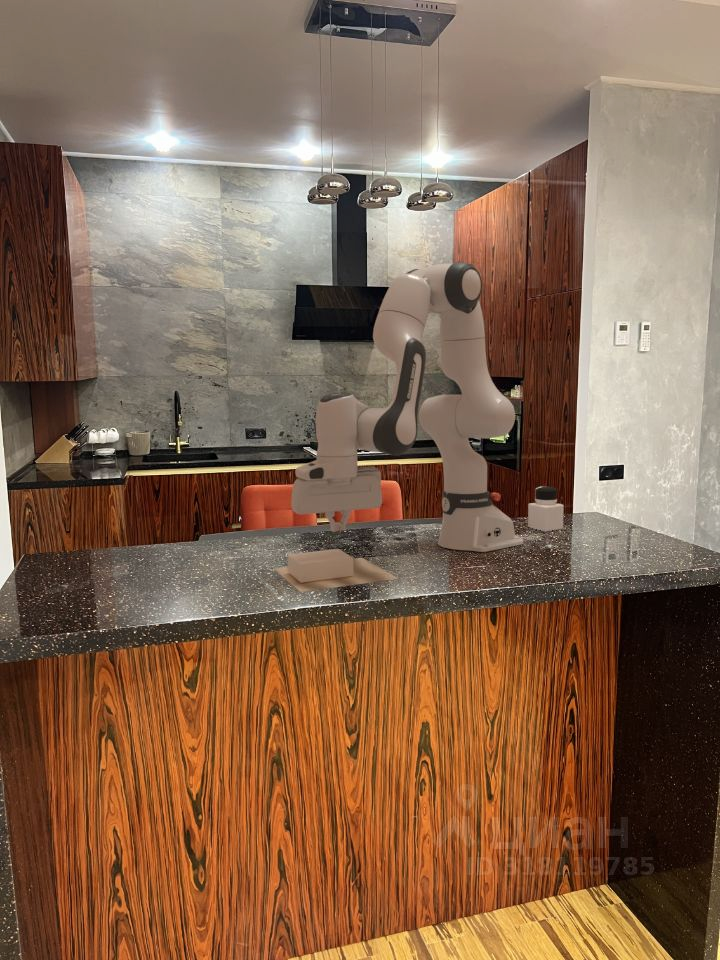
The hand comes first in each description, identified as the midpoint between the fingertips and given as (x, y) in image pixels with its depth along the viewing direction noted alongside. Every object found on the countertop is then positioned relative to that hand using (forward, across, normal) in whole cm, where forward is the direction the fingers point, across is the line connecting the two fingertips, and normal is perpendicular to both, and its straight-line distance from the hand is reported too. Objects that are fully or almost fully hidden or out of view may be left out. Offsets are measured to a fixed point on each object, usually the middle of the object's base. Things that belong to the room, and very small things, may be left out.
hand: (338, 531), depth 154 cm
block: (+7, -2, 0) cm, 7 cm away
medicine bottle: (+10, -72, -21) cm, 76 cm away
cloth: (+10, +1, 0) cm, 10 cm away
